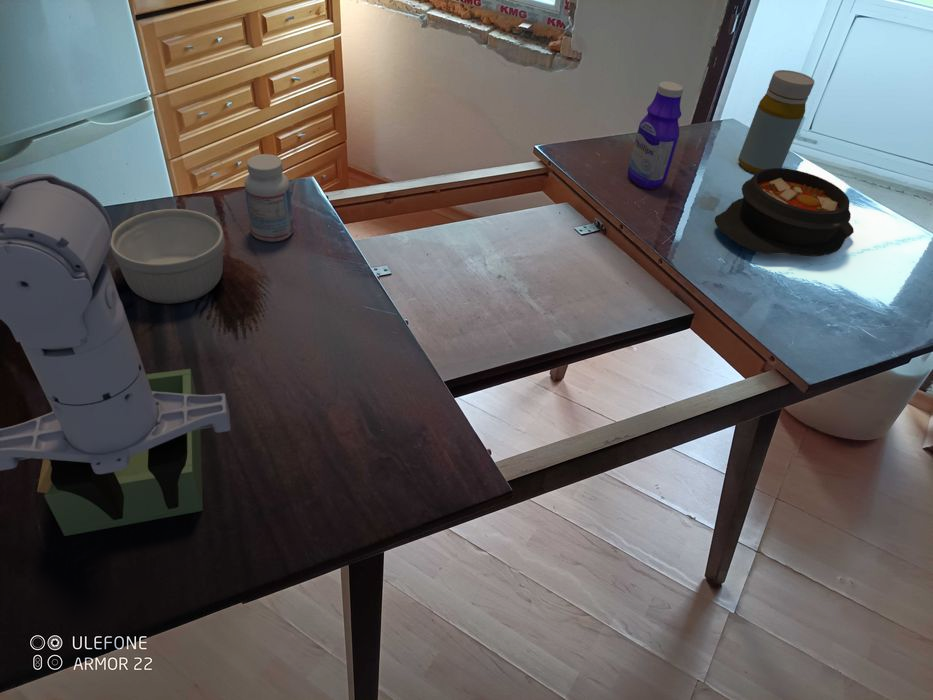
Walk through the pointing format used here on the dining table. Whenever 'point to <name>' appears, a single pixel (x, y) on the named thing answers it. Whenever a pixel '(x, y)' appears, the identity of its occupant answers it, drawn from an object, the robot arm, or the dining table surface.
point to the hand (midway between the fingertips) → (146, 503)
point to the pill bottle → (268, 199)
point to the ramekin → (169, 254)
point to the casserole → (788, 214)
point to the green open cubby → (138, 480)
